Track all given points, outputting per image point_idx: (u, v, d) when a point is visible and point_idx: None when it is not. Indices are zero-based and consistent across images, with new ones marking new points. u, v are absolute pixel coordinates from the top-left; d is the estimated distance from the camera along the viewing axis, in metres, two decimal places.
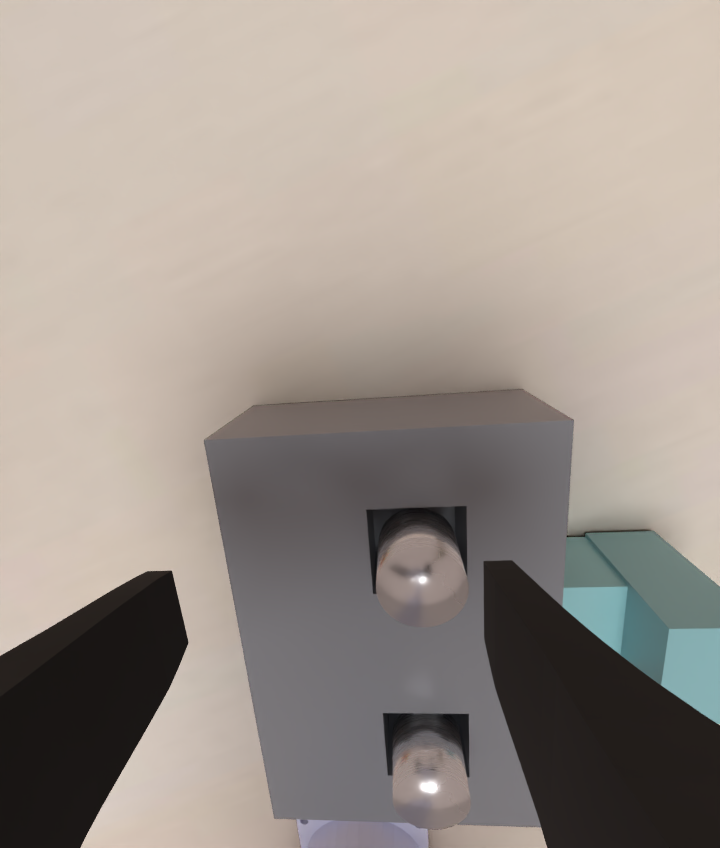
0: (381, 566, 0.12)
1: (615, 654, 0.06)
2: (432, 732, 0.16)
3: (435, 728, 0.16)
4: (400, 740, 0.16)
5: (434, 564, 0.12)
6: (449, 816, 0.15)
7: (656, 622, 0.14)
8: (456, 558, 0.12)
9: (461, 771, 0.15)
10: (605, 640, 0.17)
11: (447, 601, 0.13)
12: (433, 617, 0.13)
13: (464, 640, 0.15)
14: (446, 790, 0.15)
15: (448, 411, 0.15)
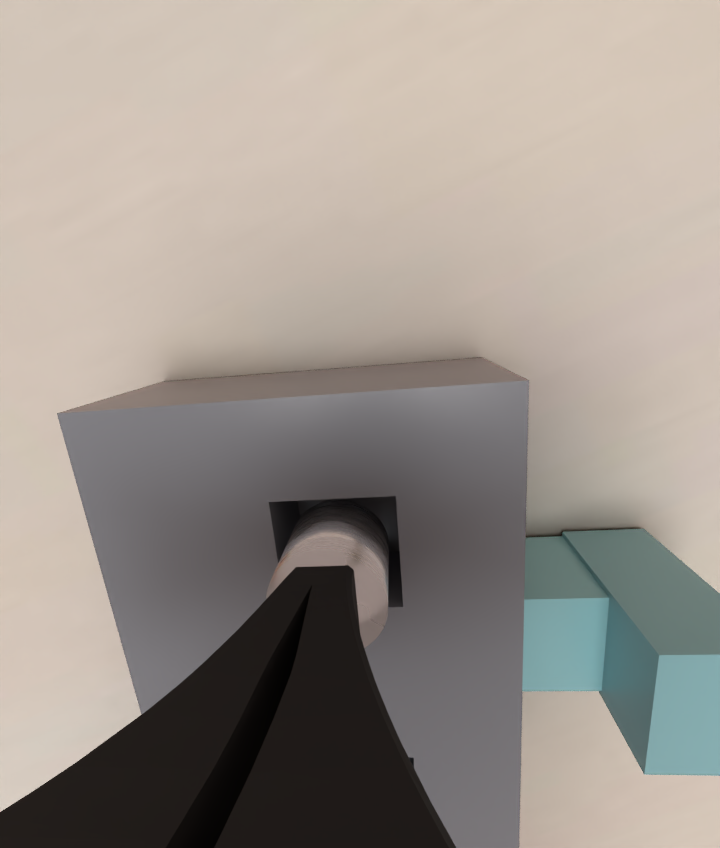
0: (272, 576, 0.09)
1: (356, 657, 0.06)
2: None
3: None
4: None
5: None
6: None
7: (643, 645, 0.11)
8: (371, 564, 0.09)
9: None
10: (583, 664, 0.13)
11: (361, 622, 0.09)
12: None
13: (402, 667, 0.12)
14: None
15: (379, 378, 0.12)
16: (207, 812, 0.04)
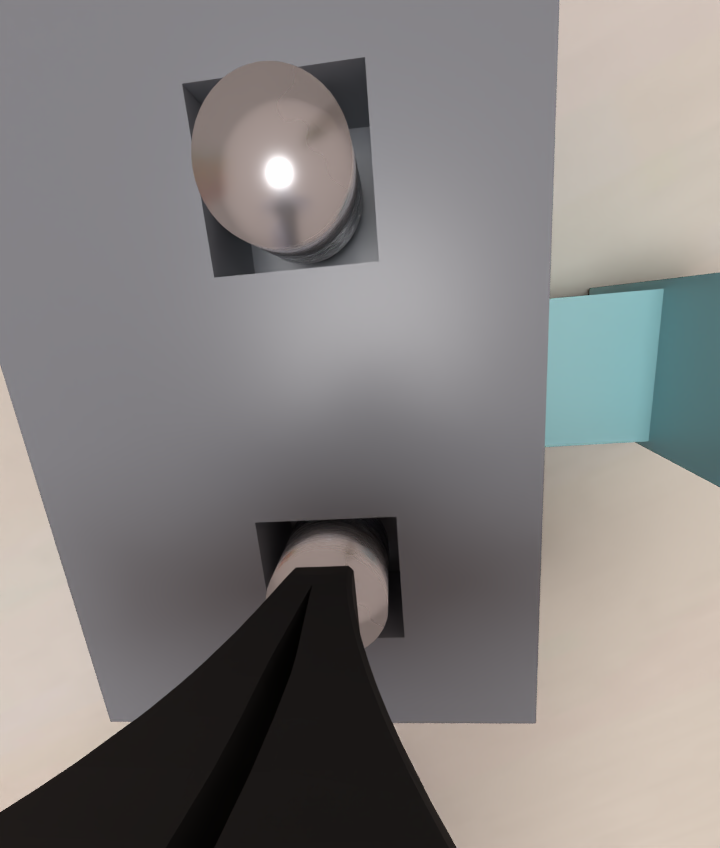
0: (199, 122, 0.07)
1: (356, 657, 0.06)
2: None
3: None
4: (291, 536, 0.11)
5: (287, 98, 0.07)
6: None
7: None
8: None
9: (375, 561, 0.09)
10: (625, 400, 0.10)
11: (317, 183, 0.07)
12: (296, 222, 0.07)
13: (379, 367, 0.09)
14: None
15: None
16: (207, 812, 0.04)
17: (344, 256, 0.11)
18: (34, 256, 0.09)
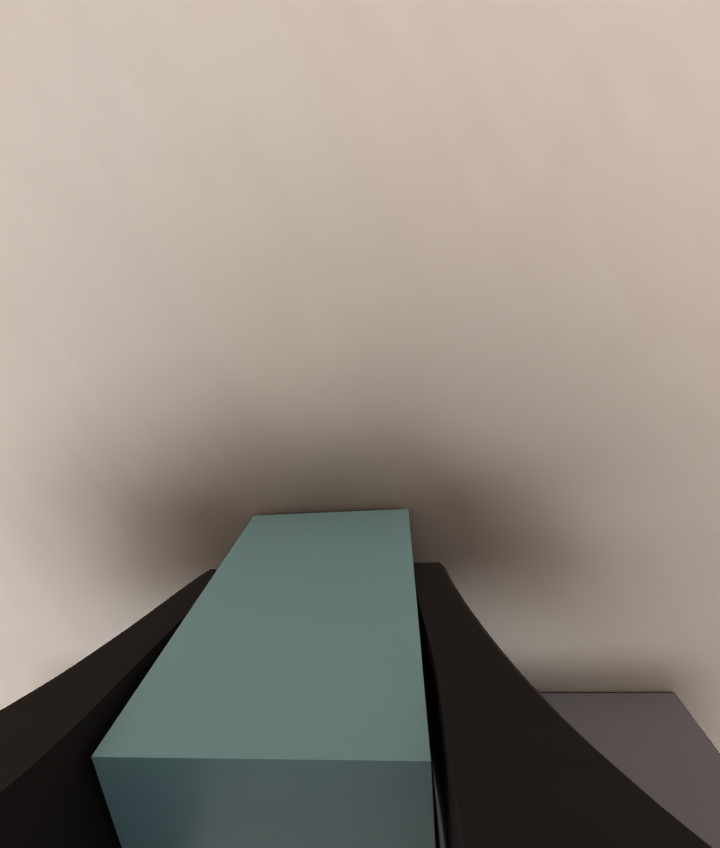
0: None
1: (499, 655, 0.06)
2: None
3: None
4: None
5: None
6: None
7: None
8: None
9: None
10: None
11: None
12: None
13: None
14: None
15: None
16: (19, 807, 0.04)
17: None
18: None
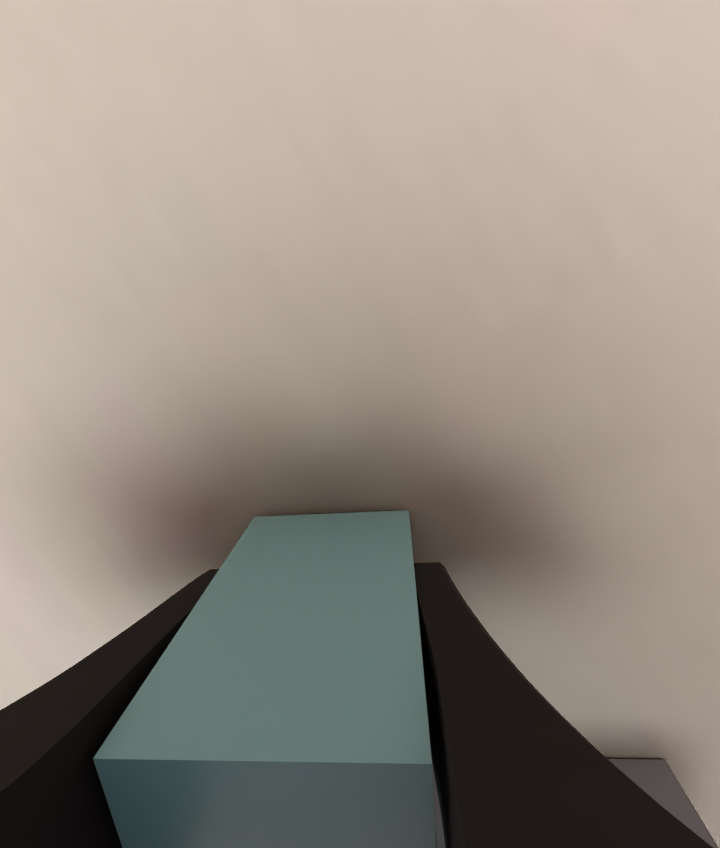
0: None
1: (499, 655, 0.06)
2: None
3: None
4: None
5: None
6: None
7: None
8: None
9: None
10: None
11: None
12: None
13: None
14: None
15: None
16: (19, 807, 0.04)
17: None
18: None
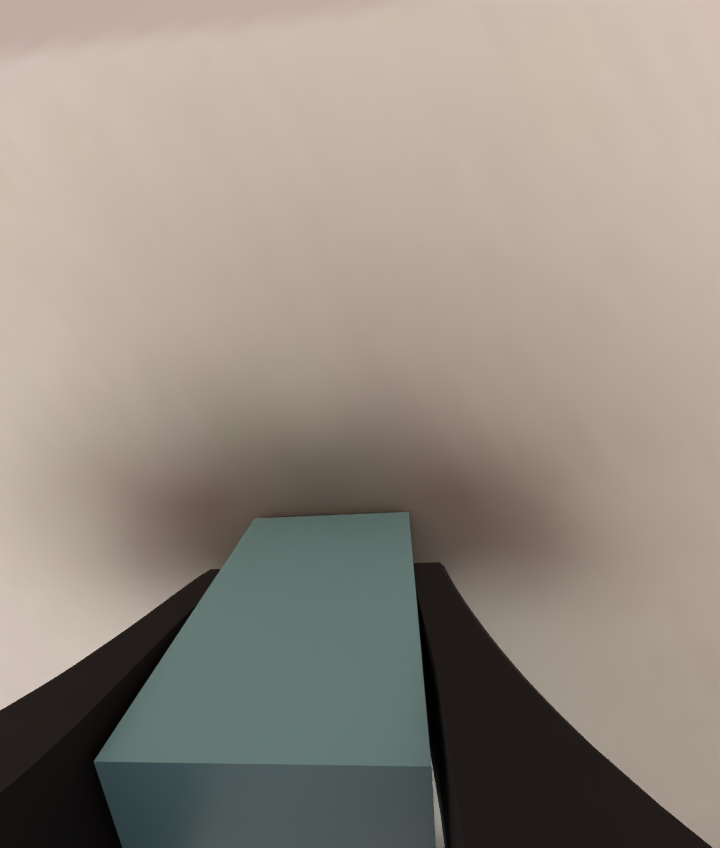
0: None
1: (499, 655, 0.06)
2: None
3: None
4: None
5: None
6: None
7: None
8: None
9: None
10: None
11: None
12: None
13: None
14: None
15: None
16: (19, 807, 0.04)
17: None
18: None
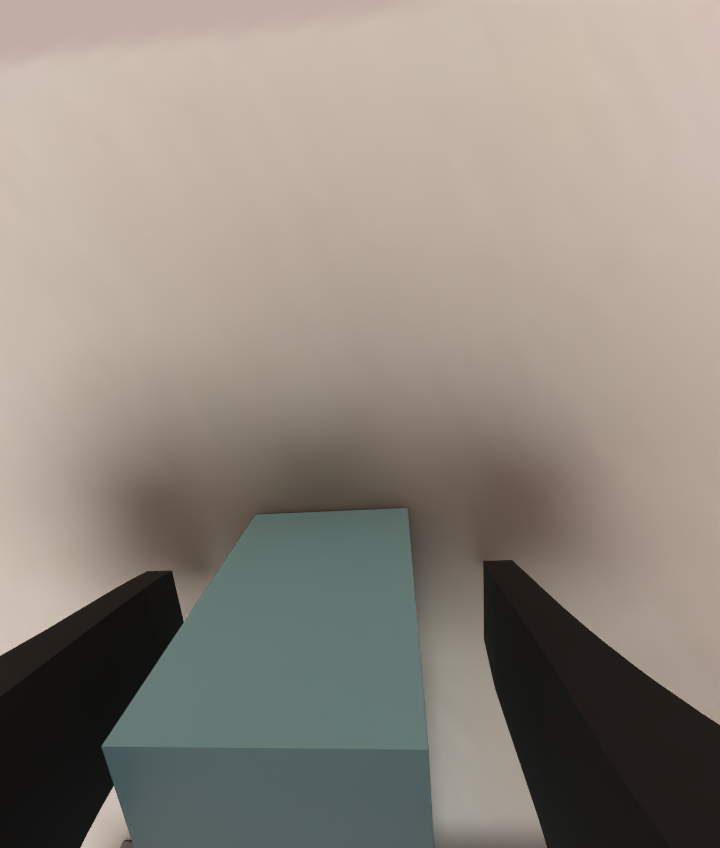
0: None
1: (615, 654, 0.06)
2: None
3: None
4: None
5: None
6: None
7: None
8: None
9: None
10: None
11: None
12: None
13: None
14: None
15: None
16: None
17: None
18: None
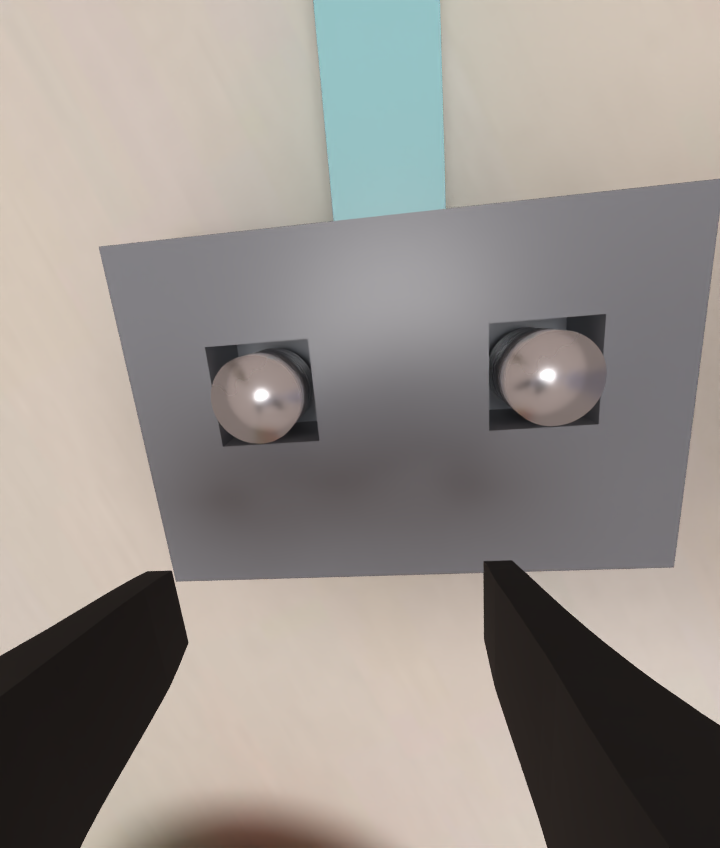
0: (239, 437, 0.13)
1: (615, 654, 0.06)
2: (494, 368, 0.13)
3: (494, 363, 0.14)
4: (508, 405, 0.14)
5: (226, 389, 0.13)
6: (581, 356, 0.12)
7: None
8: None
9: (523, 339, 0.12)
10: None
11: (265, 375, 0.12)
12: (286, 388, 0.13)
13: (374, 337, 0.13)
14: (535, 362, 0.12)
15: None
16: None
17: None
18: (310, 541, 0.15)
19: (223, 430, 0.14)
